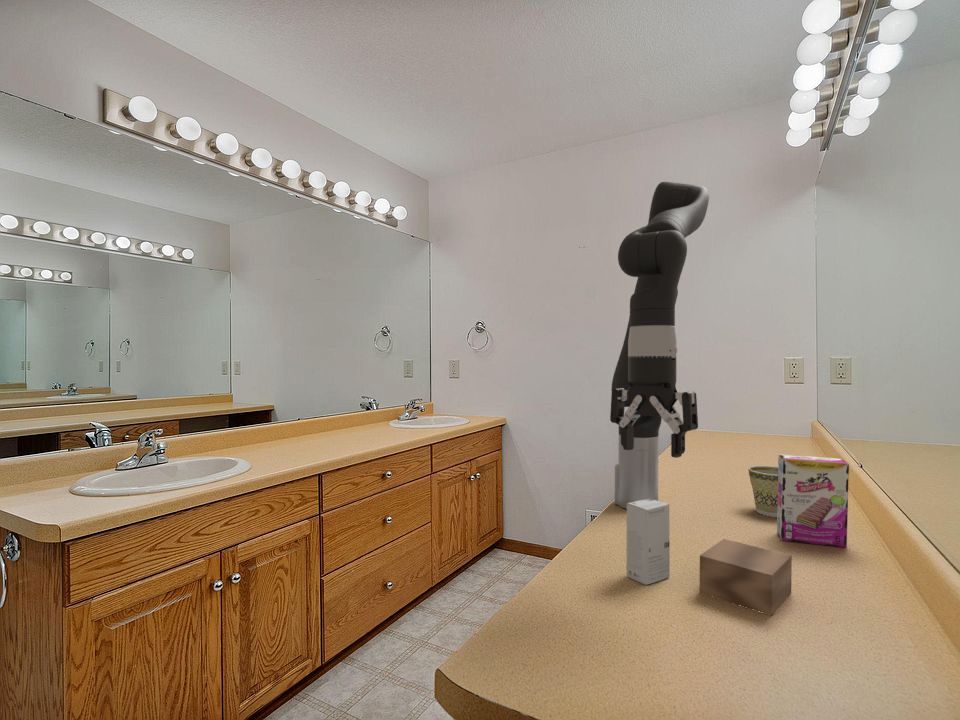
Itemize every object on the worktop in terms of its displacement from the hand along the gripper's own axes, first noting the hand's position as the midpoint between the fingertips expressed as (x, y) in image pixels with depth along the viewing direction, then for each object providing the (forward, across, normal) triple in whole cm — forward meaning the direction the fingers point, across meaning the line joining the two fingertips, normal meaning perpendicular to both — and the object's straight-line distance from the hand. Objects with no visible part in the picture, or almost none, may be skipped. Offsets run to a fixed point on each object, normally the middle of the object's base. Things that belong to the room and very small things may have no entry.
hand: (651, 453), depth 84 cm
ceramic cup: (+20, +3, +53) cm, 57 cm away
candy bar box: (+21, +13, +39) cm, 46 cm away
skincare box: (+21, -1, 0) cm, 21 cm away
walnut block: (+21, +12, +6) cm, 25 cm away
